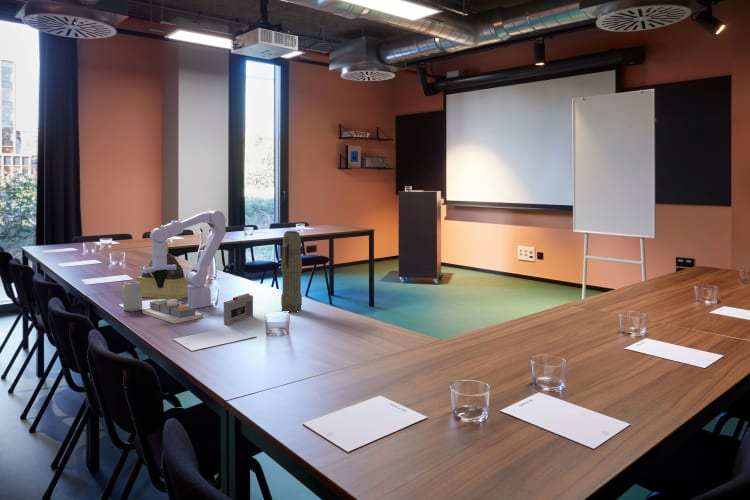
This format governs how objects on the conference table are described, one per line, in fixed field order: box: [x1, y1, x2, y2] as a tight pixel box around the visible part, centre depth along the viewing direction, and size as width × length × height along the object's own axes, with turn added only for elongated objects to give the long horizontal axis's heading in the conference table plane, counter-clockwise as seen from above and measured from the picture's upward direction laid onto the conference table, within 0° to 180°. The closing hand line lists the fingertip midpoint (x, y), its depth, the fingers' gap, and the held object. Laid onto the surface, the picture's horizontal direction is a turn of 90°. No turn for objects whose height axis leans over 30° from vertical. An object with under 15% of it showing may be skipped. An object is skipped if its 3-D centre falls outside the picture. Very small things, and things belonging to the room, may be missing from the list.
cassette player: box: [223, 293, 254, 326], centre depth 220 cm, size 16×3×10 cm, turn 157°
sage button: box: [156, 298, 168, 304], centre depth 231 cm, size 4×4×3 cm
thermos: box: [280, 230, 303, 313], centre depth 237 cm, size 9×12×35 cm
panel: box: [142, 300, 204, 324], centre depth 226 cm, size 13×24×4 cm, turn 51°
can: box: [122, 280, 143, 312], centre depth 234 cm, size 8×8×12 cm
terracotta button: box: [178, 304, 188, 310], centre depth 221 cm, size 4×4×3 cm
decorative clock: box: [136, 241, 188, 301], centre depth 262 cm, size 28×13×30 cm, turn 72°
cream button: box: [166, 299, 178, 307], centre depth 226 cm, size 4×4×3 cm
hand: (160, 287), depth 233 cm, fingers closed
